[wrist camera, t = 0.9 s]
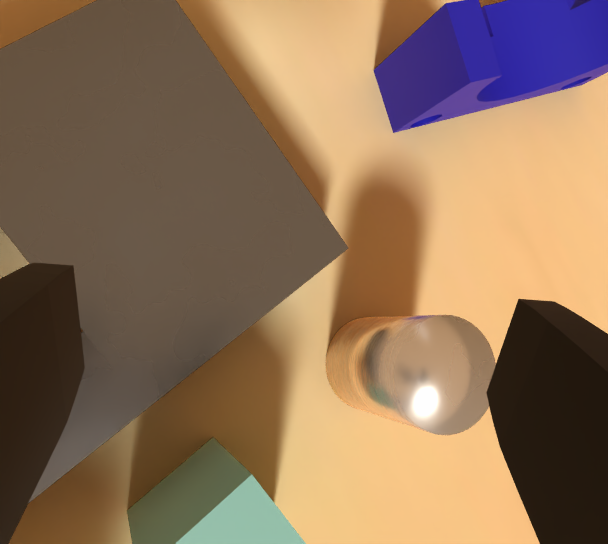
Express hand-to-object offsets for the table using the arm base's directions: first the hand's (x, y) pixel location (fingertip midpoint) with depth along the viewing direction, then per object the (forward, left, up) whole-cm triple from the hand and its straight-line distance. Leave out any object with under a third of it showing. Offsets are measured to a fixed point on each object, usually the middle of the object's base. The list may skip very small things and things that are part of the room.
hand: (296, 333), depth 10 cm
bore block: (-3, +5, -14) cm, 15 cm away
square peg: (-4, -6, -14) cm, 16 cm away
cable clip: (+19, +1, -14) cm, 24 cm away
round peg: (+5, -6, -14) cm, 16 cm away
